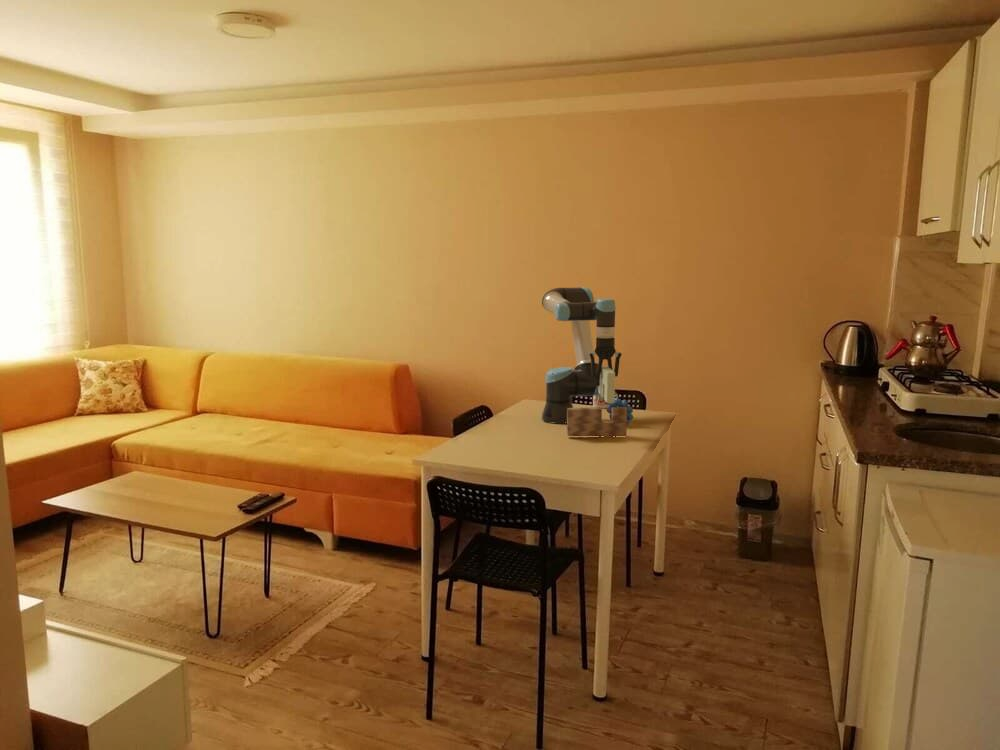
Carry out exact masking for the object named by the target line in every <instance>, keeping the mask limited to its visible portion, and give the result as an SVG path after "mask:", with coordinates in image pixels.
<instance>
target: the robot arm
mask: <svg viewBox="0 0 1000 750" xmlns="http://www.w3.org/2000/svg"><path fill="white" fill-rule="evenodd" d="M593 294H594V293H593V292H592V290H591V289H590V288H589V287H582V286H579V287H555V288H552V289H550V290H547V291H546V292H545V293H544V295H543V296H542V299H541V304H542V307H543V309H544V310H545V311H547V312H548V313H551V314H552V313H553V314H554V317H555V320H556V321H558V322H570V325H571V331H572V332H571V333H572V340H573V346H574V347H573V348H574V352H575V360H576V365H575V366H574V370H573V368H572V367H571V366H566V367H565V366H562V367H561V366H560V367H559V366H558V367H554V368H552V369H549V370H547V371H546V376H545V403H544V404H545V405H544V407H543V411H542V414H541V420H542V421H543V420H544V421H543V422H545V421H548V422H555V423H554V424H566V423H565V422H567V408H574V406H573V397H593V396H596V395H600V394H601V391H602V378H601V377H600V374H601V368H602V366H603V362H604V360H605V361H607V366H608V367H609V368H610V369H611V370H612V371H614V372H615V378H617V377H618V375H619V370H620V369H619V368H620V359H621V356H622V352H620V351H617V350H616V348H615V344H616V343H615V334H616V301H615V299H613V298H598V299H597V300H596V301H595V297H594V295H593ZM590 321H596V324H595V325H596V326H595V327H596V328H595V329H596V335H595V336H596V338H595V348H594V342H593V336H592V335H593V334H592V328H591V322H590ZM596 356H597V358H598V362H597V361H596ZM613 356H615V359H614V369H613V363H612V358H613ZM548 422H547V423H548Z"/></svg>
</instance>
